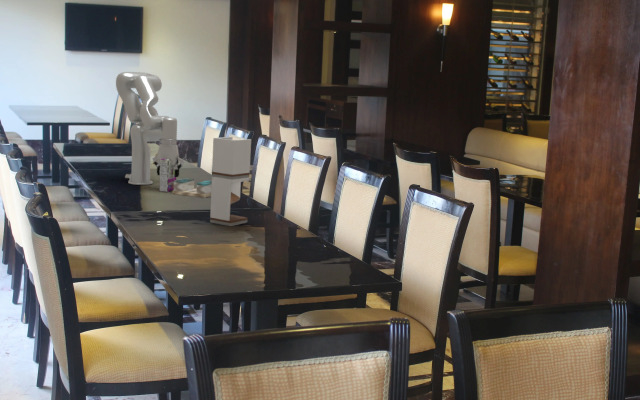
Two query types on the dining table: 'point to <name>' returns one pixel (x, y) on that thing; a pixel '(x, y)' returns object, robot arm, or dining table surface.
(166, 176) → the candy bar box
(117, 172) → the dining table surface
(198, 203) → the dining table surface
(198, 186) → the rail board
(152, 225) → the dining table surface
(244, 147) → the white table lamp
